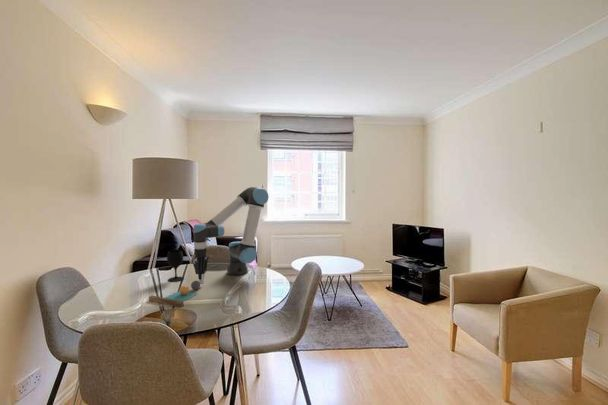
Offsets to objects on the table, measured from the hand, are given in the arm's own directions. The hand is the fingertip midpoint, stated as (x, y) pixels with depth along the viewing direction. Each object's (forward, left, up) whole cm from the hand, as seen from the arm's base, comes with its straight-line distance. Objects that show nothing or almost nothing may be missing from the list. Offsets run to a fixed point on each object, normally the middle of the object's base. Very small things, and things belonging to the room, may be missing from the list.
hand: (201, 283), depth 203 cm
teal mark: (+18, 0, -2) cm, 18 cm away
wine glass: (-4, -26, -2) cm, 26 cm away
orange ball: (+15, 0, +1) cm, 15 cm away
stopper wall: (+29, 0, -2) cm, 29 cm away
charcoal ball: (+5, 0, +1) cm, 6 cm away
